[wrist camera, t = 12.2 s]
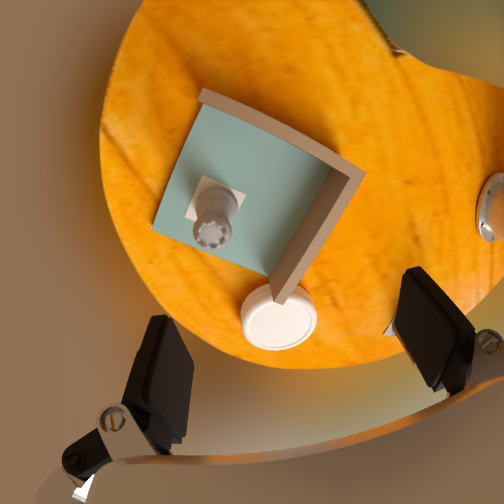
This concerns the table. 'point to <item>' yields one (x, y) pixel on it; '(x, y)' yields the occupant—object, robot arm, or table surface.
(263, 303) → the white round container
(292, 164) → the corner arena
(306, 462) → the robot arm
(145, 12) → the table surface
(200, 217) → the rook chess piece
